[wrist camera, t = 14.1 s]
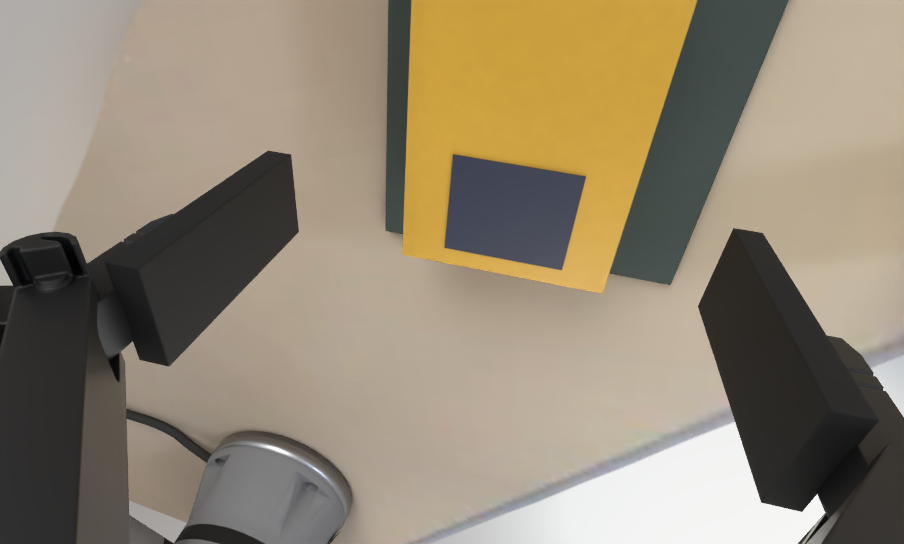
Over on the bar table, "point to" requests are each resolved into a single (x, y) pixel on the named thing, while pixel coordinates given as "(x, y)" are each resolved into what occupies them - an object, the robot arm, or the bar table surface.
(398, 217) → the desk mat
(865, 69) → the bar table surface
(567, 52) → the yellow box with panel
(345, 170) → the bar table surface
